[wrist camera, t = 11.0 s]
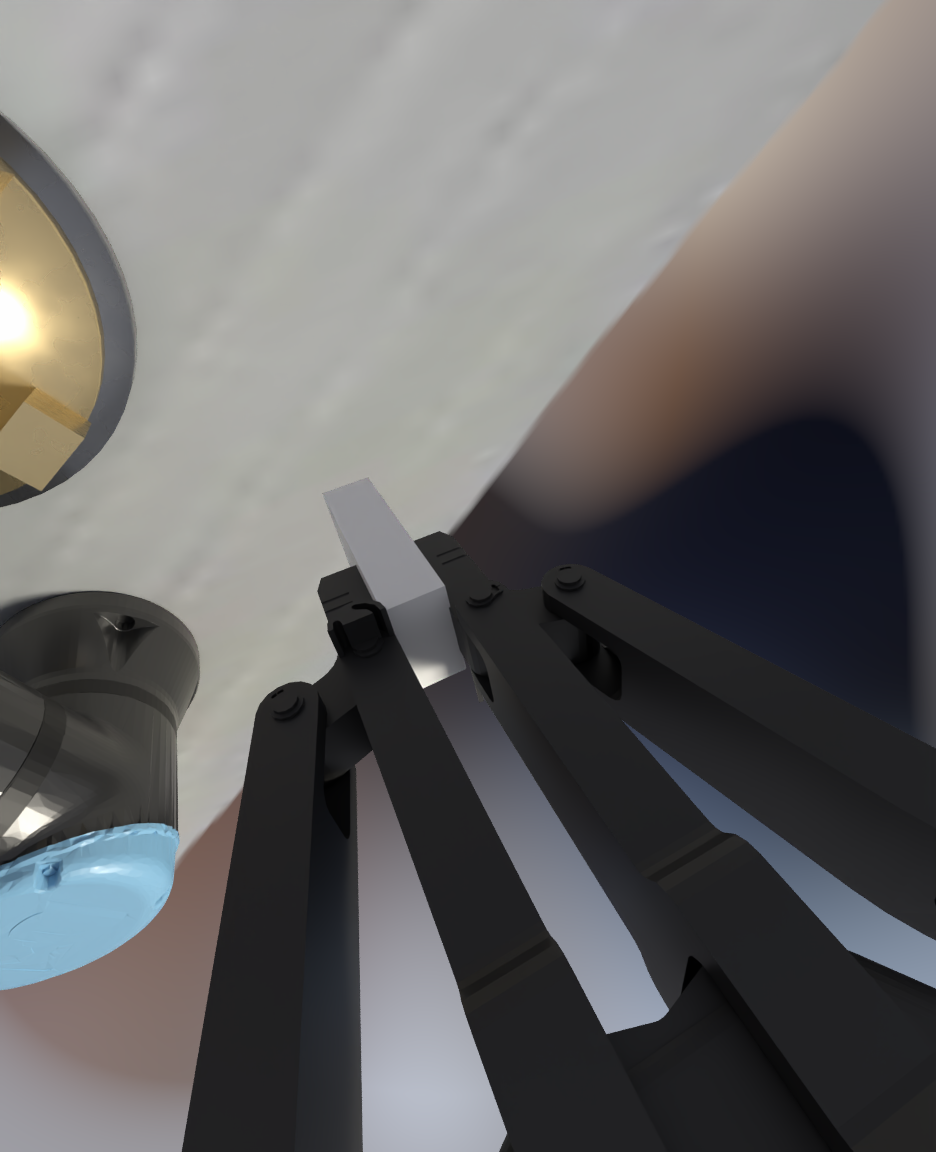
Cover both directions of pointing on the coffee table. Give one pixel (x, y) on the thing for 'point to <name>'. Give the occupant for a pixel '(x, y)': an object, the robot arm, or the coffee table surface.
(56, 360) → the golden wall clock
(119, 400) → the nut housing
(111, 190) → the coffee table surface
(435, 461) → the coffee table surface
